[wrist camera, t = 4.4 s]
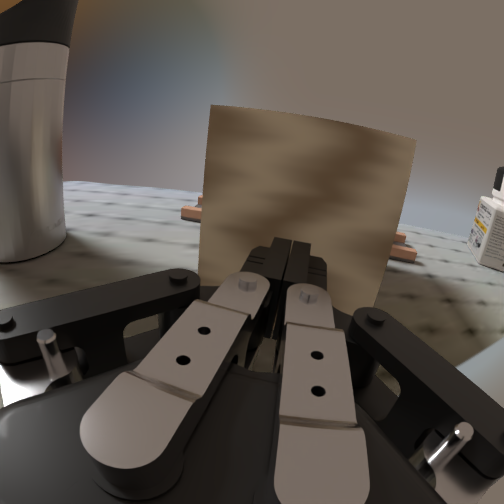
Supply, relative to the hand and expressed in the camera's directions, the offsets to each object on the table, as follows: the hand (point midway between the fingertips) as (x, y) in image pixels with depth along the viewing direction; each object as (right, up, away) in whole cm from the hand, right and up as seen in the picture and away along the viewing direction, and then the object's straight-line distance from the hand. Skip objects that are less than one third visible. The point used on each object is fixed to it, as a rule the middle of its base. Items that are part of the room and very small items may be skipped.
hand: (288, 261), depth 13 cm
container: (+32, -1, +22) cm, 39 cm away
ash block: (+1, -2, +12) cm, 12 cm away
